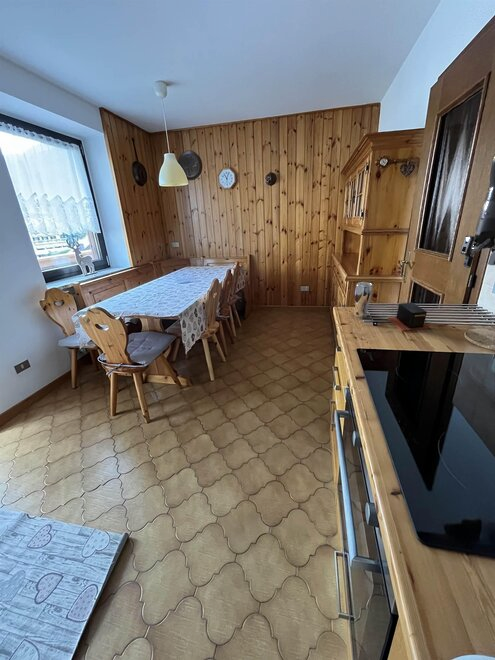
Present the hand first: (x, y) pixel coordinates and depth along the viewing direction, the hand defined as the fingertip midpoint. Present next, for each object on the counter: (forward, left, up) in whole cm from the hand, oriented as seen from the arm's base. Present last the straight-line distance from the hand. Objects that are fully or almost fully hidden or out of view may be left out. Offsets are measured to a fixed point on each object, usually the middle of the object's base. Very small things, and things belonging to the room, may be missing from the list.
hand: (479, 266), depth 97 cm
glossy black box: (+12, -13, -27) cm, 32 cm away
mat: (+12, -13, -27) cm, 32 cm away
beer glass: (+28, -25, -28) cm, 46 cm away
